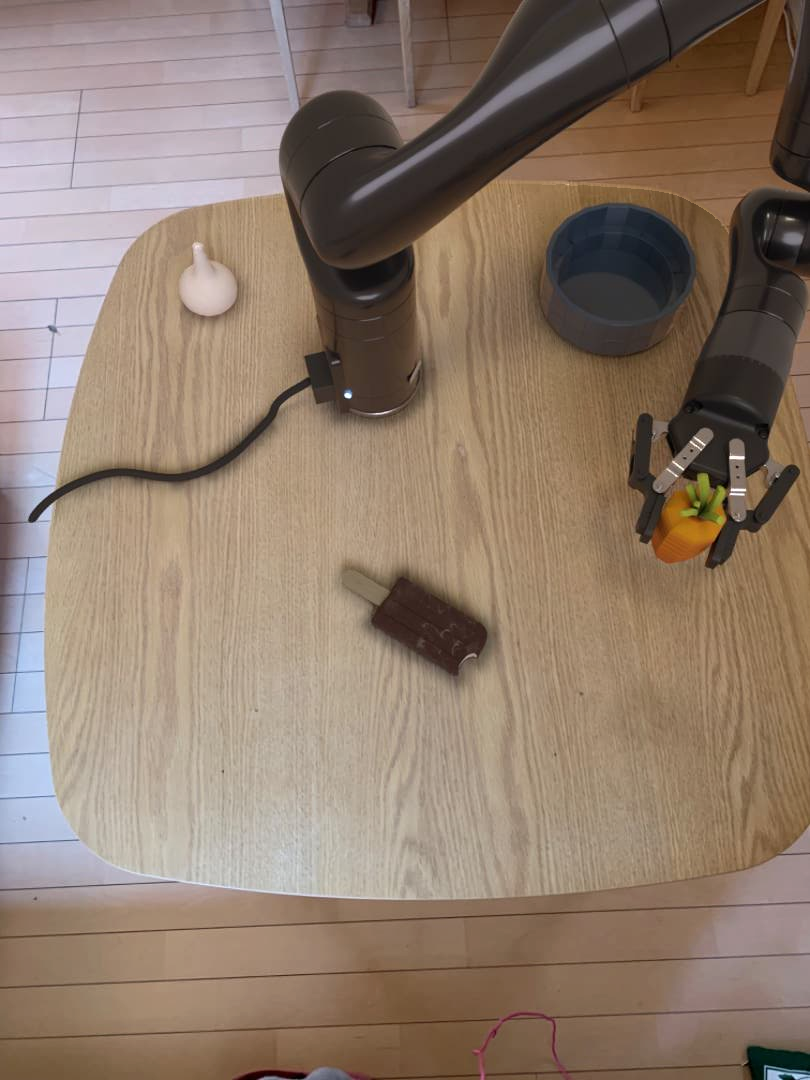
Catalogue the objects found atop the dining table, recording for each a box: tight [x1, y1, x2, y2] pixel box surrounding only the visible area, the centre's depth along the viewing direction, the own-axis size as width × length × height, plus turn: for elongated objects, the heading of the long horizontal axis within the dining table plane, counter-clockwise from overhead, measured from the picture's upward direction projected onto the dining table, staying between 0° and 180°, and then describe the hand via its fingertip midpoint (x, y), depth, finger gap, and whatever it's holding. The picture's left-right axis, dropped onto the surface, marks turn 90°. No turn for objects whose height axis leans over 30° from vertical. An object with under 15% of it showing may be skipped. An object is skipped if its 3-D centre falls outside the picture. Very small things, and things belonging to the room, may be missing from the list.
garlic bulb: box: [178, 241, 238, 317], centre depth 90 cm, size 6×6×8 cm
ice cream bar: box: [341, 569, 488, 677], centre depth 80 cm, size 5×2×15 cm
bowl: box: [539, 202, 697, 356], centre depth 90 cm, size 15×15×6 cm
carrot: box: [650, 473, 726, 565], centre depth 70 cm, size 5×5×15 cm
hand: (678, 551), depth 68 cm, fingers closed on carrot, 5 cm apart
